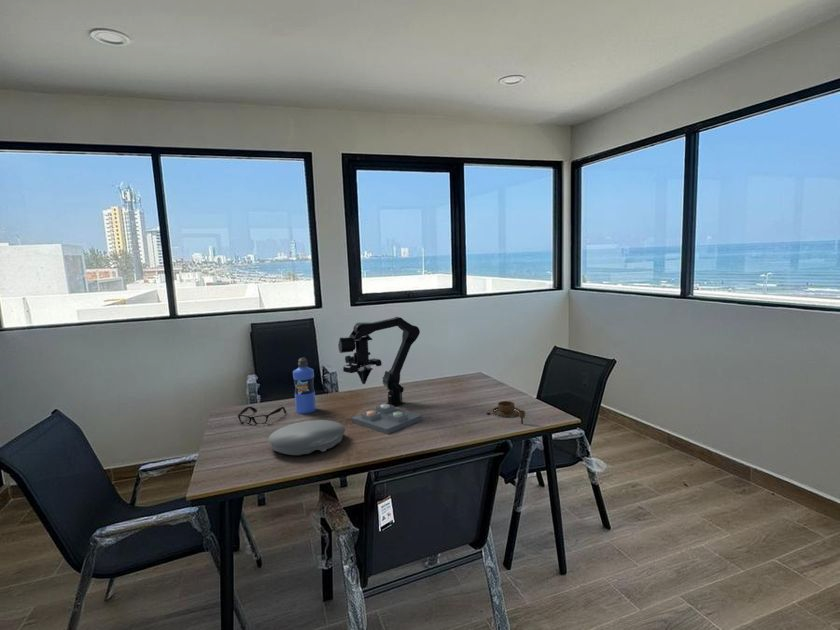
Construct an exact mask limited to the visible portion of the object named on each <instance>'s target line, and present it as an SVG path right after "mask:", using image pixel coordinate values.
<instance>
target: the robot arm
mask: <svg viewBox="0 0 840 630" xmlns="http://www.w3.org/2000/svg"><path fill="white" fill-rule="evenodd" d="M395 327H398V328H399V329H400V330H401V331H402V335H401V336H402V339H401V344H400V346H399V349H398V350H397V353H396V356H395V358H394V361H393V363H392V366H391V368H390V370H385V371H384V375H383V377H382V384H383V386H384V387H385V388H386V390H388V392H387V402H385V403H386V404H389V405H393V406H395V407H397V406H401V405H403V404H405V401H403V393H404V390H405V389H404V387H403V386H402V384H400V382H401V371H402V369H403V366H404V365H405V363H406V362H405V361H406V360H407V356H408V354H409V353H410V350H411V347H412V345H413V344H414V343H415V342H416V340H417V339H418V338H419V335H420V334H421V331H420V328H419V327H418V326H417V325H413V324H411V323H410V322H408V321H407V320H404V319H403V317H399V316H395V317H392V318H388V319H383V320H377V321H374V322H357V323H355V324H354V326H353V330H352V331H351V332H350V334H349V336H347V337H339V341H338V345H337V346H338V352H339V354H344V353H345V354H346V353H351V352H353V356H351V355H346V356H345V358H344V361H345V363H346V365H343V368H342V369H343V370H342V371H343V372H345V373H348V374H354V373H357V374H358V375H357V376H359V379H360V381H361V383H362V385H365V384H367V380H368V378H369V376H370V374H371V371H373V370H374V369H373V367H372V366H374V365H375V366H376V367H380V366H381V367H382V360H381V359H380V358H370V357H369V356H370V355H371V351H370V352H369V341H373V338H372V337H371V336H370V335H371V334H372V333H374V332H377V331H381V330H385V329H390V328H395ZM354 351H355V352H354Z"/></svg>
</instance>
